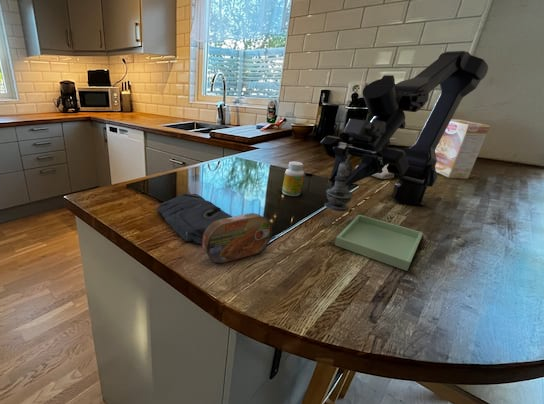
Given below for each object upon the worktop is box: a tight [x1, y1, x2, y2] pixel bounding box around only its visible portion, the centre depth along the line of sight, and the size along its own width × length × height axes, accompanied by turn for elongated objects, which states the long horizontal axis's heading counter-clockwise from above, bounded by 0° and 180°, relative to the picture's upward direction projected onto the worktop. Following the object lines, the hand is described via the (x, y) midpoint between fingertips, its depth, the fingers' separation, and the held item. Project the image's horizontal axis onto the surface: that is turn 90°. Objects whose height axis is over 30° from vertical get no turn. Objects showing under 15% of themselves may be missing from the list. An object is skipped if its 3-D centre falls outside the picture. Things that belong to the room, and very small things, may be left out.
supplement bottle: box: [281, 161, 305, 197], centre depth 91 cm, size 5×5×10 cm
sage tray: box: [334, 214, 424, 272], centre depth 65 cm, size 16×13×2 cm
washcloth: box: [354, 164, 395, 180], centre depth 113 cm, size 12×18×3 cm, turn 114°
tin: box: [201, 212, 273, 264], centre depth 59 cm, size 15×3×8 cm, turn 114°
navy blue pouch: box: [156, 193, 233, 246], centre depth 73 cm, size 15×22×5 cm
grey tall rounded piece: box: [324, 158, 354, 212], centre depth 69 cm, size 6×6×12 cm
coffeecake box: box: [435, 118, 491, 180], centre depth 112 cm, size 15×7×20 cm, turn 172°
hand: (338, 182), depth 69 cm, fingers closed on grey tall rounded piece, 3 cm apart
